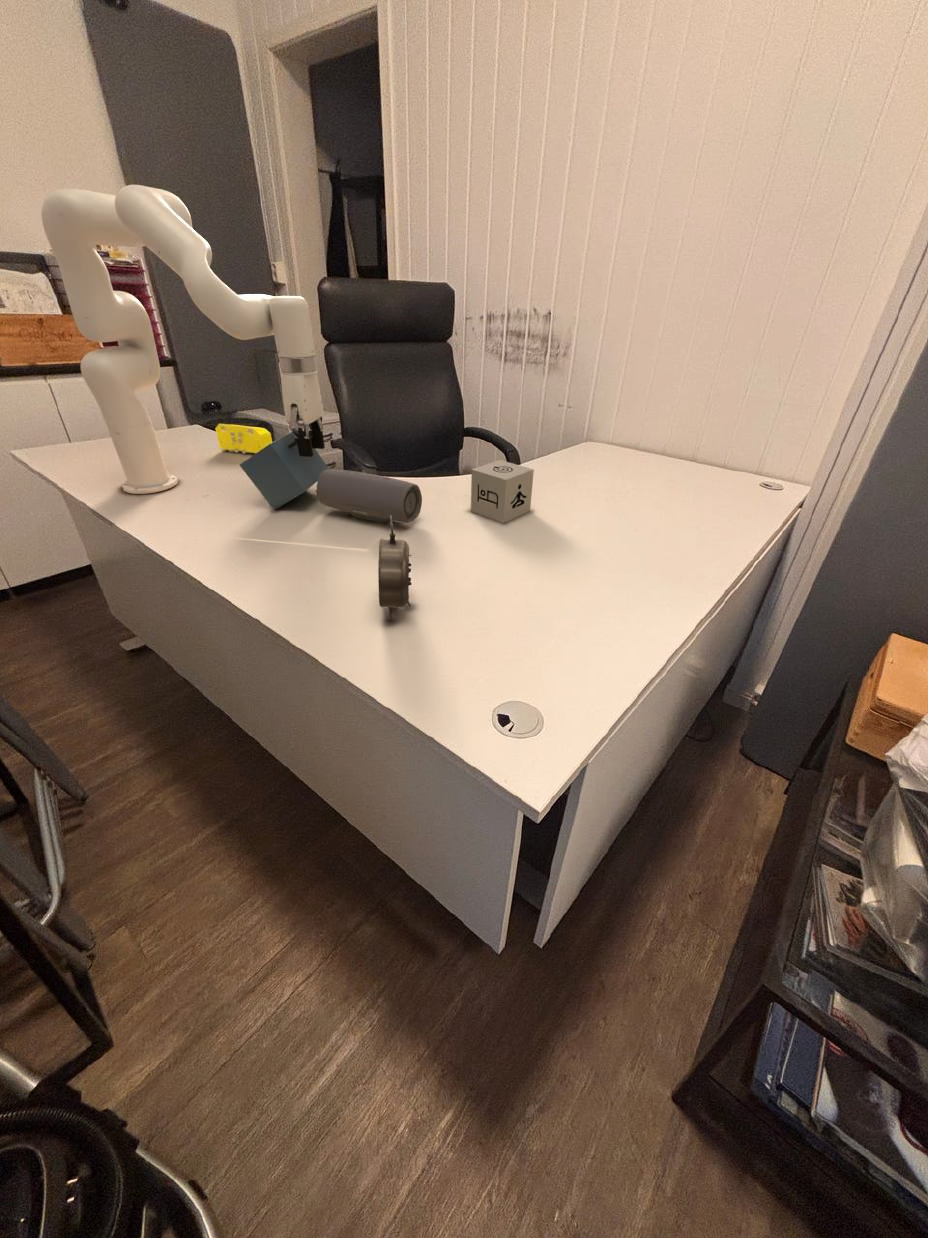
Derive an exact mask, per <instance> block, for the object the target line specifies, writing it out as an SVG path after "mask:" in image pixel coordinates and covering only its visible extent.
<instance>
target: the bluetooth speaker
mask: <svg viewBox="0 0 928 1238" xmlns="http://www.w3.org/2000/svg"><path fill="white" fill-rule="evenodd" d="M315 493H316V497H317V499H318V501H319V502H320V503H321V504H322V505H325V506H327V507H329V508H333V509H337V510H340V511H343V512H347V513H349V515H350V516H352V517H355V518H359V519H362V520H367V521H372V522H378V523H390V516H392V522H400V523H412V522H414V521H415V520H416V519H417V518H418V517H419V515H420V513H421V509H422V505H423V496H422V492H421V489H420V487H419V485H418V484H416V483H413V482H409V481H406V480H402V479H397V478H393V477H389V476H388V477H387V476H383V475H379V474H374V473H369V472H368V473H367V472H361V471H353V470H347V469H346V470H345V469H337V468H329V469H326V470H324V471H322V472H321V474H320V475H319V478H318V481H317V482H316V491H315Z"/></svg>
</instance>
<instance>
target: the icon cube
mask: <svg viewBox="0 0 928 1238" xmlns="http://www.w3.org/2000/svg"><path fill="white" fill-rule="evenodd" d="M534 472H535V469H534V468H531V467H527V466H524V465H519V464H516V463H512V462H509V461H506V460H502V459H498V460H496V461H492V462H489V463H487V464H483V465H481V466H480V465H479V466H476V467H475V468H472V469H471V484H470V485H471V486H470V512H472V513H474V514H478V515H480V516H483V517H486V518H488V519H491V520H493V521H497V522H498V523H502V524H505V523H507V522H509V521H513V520H514V519H516V518H518V517H520V516H522V515H525V514H527V513H529V512H530V511H531V505H532V494H533V483H534V474H535V473H534Z"/></svg>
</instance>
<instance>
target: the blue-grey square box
mask: <svg viewBox="0 0 928 1238" xmlns="http://www.w3.org/2000/svg"><path fill="white" fill-rule="evenodd" d="M299 428H302V427H299ZM312 437H313V434H312V432H311V431H310V429H309V438H312ZM312 449H313V456H312V457H304V456H300V455H299V451H298V445H297V439H296V438H295V434H294V433H293V431H292V430H291V431H290V432H288V433H286V434H285V435H283V436H281V437H280V438H278V439H276V440H274V441H272V443H271V444H269V445H268V446H266V447H265V448H263V449H262V450H260V451H259V452H257V453H256V454H255V453H253V454H252V455H251V456H250V457H249V458H247V459H245V460H244V461H242V462H241V463H240V464H239V466H240V468H241V469H242V471H243V472H244V473H245V475H246V476H247V477H248V478H249V480H250V481H251V482H252V484H253V485H254V486H255V487H256V489H257V490H258V491H259V493H260V494H261V496H262V497H263V498H264V500H265V501H266V502H267V503H268V505H269V506H270V507H271V508H272V510H273V511H276V510H277V509H279V508H280V507H282V506H283V505H285V504H287V503H288V502H291V501H292V500H294V499H295V498H297V497H299V496H300V495H302V494H304V493H305V492H306V491H308V490H309V489H310V488H311V487H313V486H314V485H315V484H317V482H318V478H319V475H320V474H321V472H322V471H324V470H326V469H330V468H329V466H328V465H327V463H326V462H325V461H324V459H323V458H322V456H321V455H320V453H319V452H318V451H317V449H315V448H312Z"/></svg>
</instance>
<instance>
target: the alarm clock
mask: <svg viewBox="0 0 928 1238" xmlns="http://www.w3.org/2000/svg"><path fill="white" fill-rule="evenodd" d="M393 523H394V521H392V516H390V522H389V524H390V533H389V534H388V535H389V536H388V537H389V538H385V539H384V538H380V540H379V544H378V564H377V565H378V566H377V567H378V571H377V573H378V577H377V578H378V581H377V582H378V603H379V607H380V608H387V609H388V622H389V623H391V622H393V613H394V608H404V607H405V606H407V605H408V606H409V607H410V608H411V607H412V604H411V603H410V601H409V599H410V595H409V593H410V592H409V591H410V590H409V588H410V587H409V586H412V582H411V581H412V577H410V573H411V571H412V568H410V567H412V563H411V562H410V557H412V554H410V546H409V544H408V542H407V541H406V540H404V539H398V538H397V539H396V533H395V532H394V524H393Z"/></svg>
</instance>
